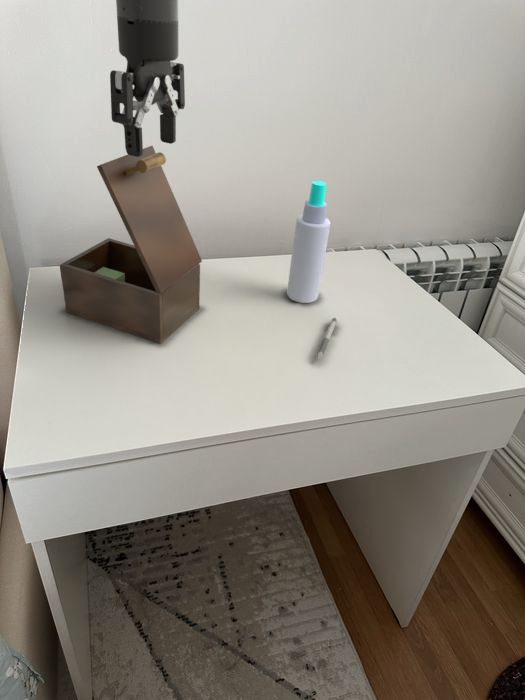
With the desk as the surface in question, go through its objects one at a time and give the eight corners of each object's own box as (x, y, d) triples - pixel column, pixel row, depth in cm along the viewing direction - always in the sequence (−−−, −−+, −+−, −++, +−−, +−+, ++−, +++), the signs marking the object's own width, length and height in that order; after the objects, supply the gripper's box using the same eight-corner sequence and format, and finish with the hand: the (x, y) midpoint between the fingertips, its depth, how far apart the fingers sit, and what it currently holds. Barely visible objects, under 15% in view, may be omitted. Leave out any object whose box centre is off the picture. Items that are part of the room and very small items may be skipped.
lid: (96, 166, 73) (122, 155, 71) (148, 146, 83) (173, 136, 81) (157, 293, 81) (182, 288, 78) (198, 262, 91) (222, 256, 88)
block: (110, 306, 92) (108, 283, 90) (89, 299, 93) (86, 276, 91) (126, 295, 96) (124, 273, 93) (105, 289, 97) (103, 266, 94)
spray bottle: (323, 296, 104) (343, 184, 91) (306, 307, 100) (324, 191, 87) (298, 285, 106) (314, 174, 94) (280, 295, 102) (294, 181, 90)
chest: (66, 311, 91) (59, 264, 86) (112, 281, 101) (108, 237, 96) (160, 344, 86) (159, 296, 81) (199, 308, 96) (200, 264, 91)
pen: (337, 323, 96) (338, 316, 95) (319, 366, 85) (321, 359, 84) (331, 321, 96) (332, 315, 95) (313, 364, 85) (314, 357, 84)
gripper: (153, 10, 73) (156, 134, 82) (86, 12, 62) (98, 154, 71) (202, 17, 71) (199, 143, 80) (140, 19, 60) (146, 165, 69)
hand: (152, 148), depth 76 cm, fingers open, 8 cm apart
